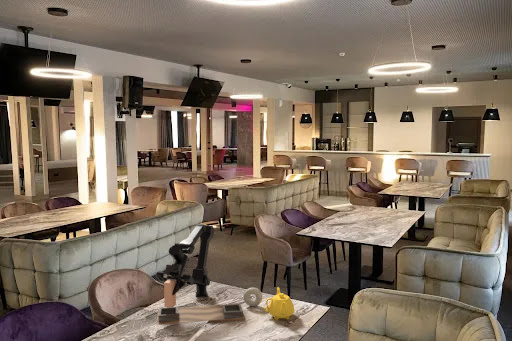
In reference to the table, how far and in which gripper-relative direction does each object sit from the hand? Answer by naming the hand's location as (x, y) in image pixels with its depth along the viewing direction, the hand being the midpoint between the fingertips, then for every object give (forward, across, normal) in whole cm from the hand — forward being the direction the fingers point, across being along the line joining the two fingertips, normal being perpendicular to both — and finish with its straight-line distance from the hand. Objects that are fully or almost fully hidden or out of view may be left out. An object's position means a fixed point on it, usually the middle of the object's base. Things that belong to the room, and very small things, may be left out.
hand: (168, 294), depth 197 cm
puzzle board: (+2, +12, +17) cm, 21 cm away
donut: (-11, +32, +31) cm, 46 cm away
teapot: (-6, +49, +26) cm, 56 cm away
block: (+3, 0, +5) cm, 6 cm away
